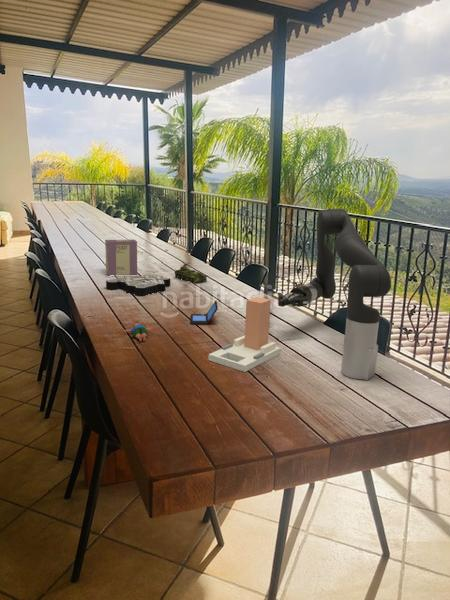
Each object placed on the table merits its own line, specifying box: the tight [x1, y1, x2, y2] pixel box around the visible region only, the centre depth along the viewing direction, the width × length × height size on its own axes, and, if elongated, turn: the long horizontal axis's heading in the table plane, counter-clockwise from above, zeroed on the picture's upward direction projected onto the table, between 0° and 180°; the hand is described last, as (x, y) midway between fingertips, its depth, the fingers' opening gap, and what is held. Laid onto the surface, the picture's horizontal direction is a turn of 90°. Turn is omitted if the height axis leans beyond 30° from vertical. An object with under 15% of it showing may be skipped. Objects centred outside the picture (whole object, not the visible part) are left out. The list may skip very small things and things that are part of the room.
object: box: [189, 300, 219, 326], centre depth 187 cm, size 12×11×7 cm
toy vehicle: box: [174, 262, 208, 284], centre depth 263 cm, size 9×20×10 cm, turn 46°
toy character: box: [120, 321, 156, 342], centre depth 166 cm, size 12×5×15 cm
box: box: [104, 239, 138, 277], centre depth 269 cm, size 17×9×20 cm, turn 111°
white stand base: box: [208, 334, 282, 373], centre depth 150 cm, size 14×21×4 cm, turn 143°
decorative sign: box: [105, 274, 171, 297], centre depth 240 cm, size 28×4×30 cm
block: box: [244, 296, 272, 350], centre depth 152 cm, size 6×6×16 cm
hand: (280, 303), depth 163 cm, fingers closed
